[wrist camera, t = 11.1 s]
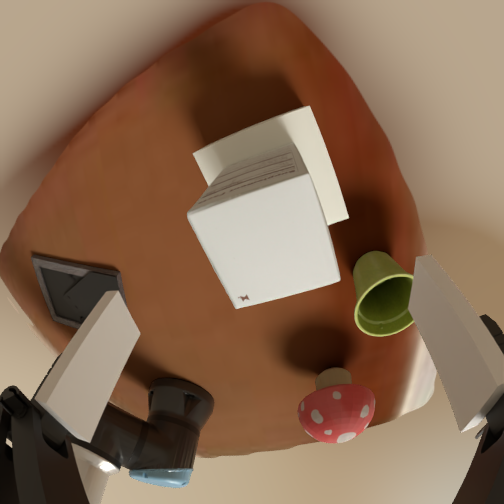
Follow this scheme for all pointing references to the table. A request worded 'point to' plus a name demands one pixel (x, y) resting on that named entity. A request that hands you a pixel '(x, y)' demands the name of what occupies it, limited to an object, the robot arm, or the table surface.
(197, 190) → the table surface
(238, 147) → the plinth
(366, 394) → the decorative mushroom
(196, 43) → the table surface
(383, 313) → the plant pot
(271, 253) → the supplement box
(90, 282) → the picture frame
